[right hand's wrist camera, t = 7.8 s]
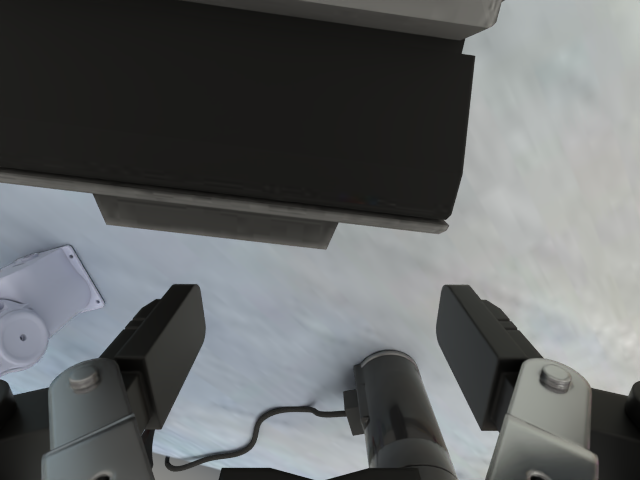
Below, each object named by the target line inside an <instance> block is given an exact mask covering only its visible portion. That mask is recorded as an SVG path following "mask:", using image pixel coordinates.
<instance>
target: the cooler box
mask: <svg viewBox="0 0 640 480" xmlns="http://www.w3.org/2000/svg"><path fill="white" fill-rule="evenodd" d="M503 1H504V0H0V183H9V184H17V185H26V186H34V187H43V188H52V189H60V190H69V191H77V192H86V193H93V195H94V198H95V200H96V202H97V204H98V207H99V209H100V211H101V213H102V216H103V218H104V220H105V222H106V225H114V226H123V227H132V228H141V229H150V230H158V231H167V232H176V233H185V234H194V235H202V236H211V237H220V238H229V239H237V240H246V241H255V242H264V243H273V244H281V245H290V246H299V247H308V248H317V249H325V250H326V249H327V247H328V245H329V242H330V240H331V238H332V236H333V234H334V231H335V229H336V227H337V225H338V223H339V222H341V223H349V224H358V225H366V226H375V227H383V228H392V229H400V230H409V231H417V232H426V233H434V234H440V233H442V232H444V231H446V230H447V228H448V227H449V225H448V224H447V223H446V222H445V221H444V220H446V219H447V218H448V217H449V216H451V214H452V210H453V207H454V203H455V199H456V196H457V192H458V189H459V185H460V181H461V178H462V174H463V165H464V155H465V146H466V137H467V127H468V118H469V109H470V99H471V90H472V81H473V71H474V62H475V56H472V55H465V54H462V50H463V45H464V41H465V38H467V37H469V36H472V35H474V34H476V33H478V32H481V31H483V30H485V29H487V28H490V27H492V26H493V25H494V24H495V23H496V21H497V17H498V13H499V10H500V6H501V2H503Z"/></svg>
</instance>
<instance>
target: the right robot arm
mask: <svg viewBox="0 0 640 480" xmlns="http://www.w3.org/2000/svg"><path fill="white" fill-rule="evenodd" d="M205 331H206V326H205V318H204V311H203V304H202V297H201V291H200V287H199V286H198V285H197V284H174V285H172V286H171V287H170V289H169V290H168V291H167V292H166V294H165V295H164V296H163V297H162V298H161V299H156V300H154V301H152V302H151V303H149V304H148V305H146V306H144V307H143V308H142V309H141V310H140V311H139V312H138V313H137V314H136V315H135V317H134V318H133V321H130V322H129V324H128V325H127V326H126V327H125V330H122V332H121V333H120V334H119V335H118V336H117V337H116V338H115V340H114V341H113V342H112V343H111V344H110V345H109V347H108V348H107V349H106V350H105V351H104V352H103V353H102V355H101V356H100V357H99V358H96V359H91V360H87V361H84V362H81V363H78V364H76V365H74V366H72V367H70V368H68V369H67V370H65V371H64V372H62V373H61V374H60V375H59V376H57V377H56V378H55V379H54V381H53V382H52V383H51V385H50V387H49V388H44V389H40V390H35V391H31V392H26V393H21V394H17V395H13V394H12V391H11V389H10V387H9V385H8V383H7V382H6V381H4V380H0V480H155V479H154V475H153V472H152V469H151V466H150V463H149V459H148V456H147V453H146V450H145V446H144V443H143V440H142V437H141V435H142V433H143V431H144V429H162V427H163V425H164V423H165V421H166V419H167V416H168V414H169V412H170V410H171V408H172V406H173V404H174V402H175V400H176V398H177V396H178V394H179V392H180V390H181V388H182V386H183V384H184V381H185V379H186V377H187V375H188V373H189V371H190V369H191V367H192V365H193V363H194V361H195V359H196V357H197V355H198V353H199V351H200V349H201V347H202V344H203V342H204V338H205ZM436 334H437V340H438V343H439V346H440V348H441V350H442V352H443V354H444V356H445V358H446V360H447V362H448V364H449V366H450V368H451V370H452V372H453V374H454V376H455V378H456V380H457V382H458V384H459V386H460V388H461V390H462V392H463V394H464V396H465V398H466V400H467V403H468V405H469V407H470V409H471V411H472V413H473V415H474V417H475V419H476V421H477V423H478V425H479V427H480V429H481V431H499V433H500V434H499V437H498V440H497V443H496V446H495V450H494V453H493V456H492V459H491V462H490V466H489V469H488V472H487V475H486V479H485V480H640V381H638V382H636V383H635V384H634V385H633V387H632V389H631V391H630V393H629V396H625V395H621V394H616V393H612V392H607V391H603V390H598V389H594V388H591V387H590V385H589V383H588V382H587V381H586V379H585V378H584V377H583V376H581V375H580V374H579V373H578V372H576V371H575V370H573V369H572V368H570V367H568V366H566V365H564V364H562V363H559V362H556V361H553V360H549V359H544V358H543V357H542V356H541V355H540V354H539V352H538V351H537V350H536V349H535V348H534V347H533V346H532V344H531V343H530V342H529V341H528V340H527V339H526V338H525V336H524V335H523V334H522V333H521V332H520V331H519V330H517V327H516V326H515V325H514V324H513V323H512V322H511V321H510V319H509V318H508V317H507V316H506V315H505V314H504V312H503V311H502V310H501V309H500V308H498V307H497V306H495V305H494V304H492V303H490V302H489V301H487V300H481V299H480V298H479V296H478V295H477V294H476V293H475V292H474V290H473V289H472V288H471V287H470V286H469V285H444V286H443V288H442V291H441V297H440V303H439V310H438V317H437V324H436ZM354 374H355V382H356V389H354V390H349V391H344V392H343V395H344V407H345V411H332V412H323V411H318V410H317V409H315V408H313V407H283V408H278V409H274V410H271V411H269V412H267V413H265V414H264V415H262V416H261V417H260V418H259V419H258V421H257V423H256V425H255V428H254V433H253V438H252V441H251V443H250V444H249V445H248V446H247V447H245V448H244V449H242V450H239V451H236V452H232V453H225V454H218V455H212V456H208V457H204V458H201V459H199V460H196V461H194V462H191V463H188V464H185V465H182V466H173V465H171V464H170V462H169V459H170V456H166V457H165V466H166V467H167V469H169V470H170V471H182V470H186V469H189V468H192V467H194V466H197V465H199V464H202V463H205V462H208V461H212V460H218V459H226V458H232V457H237V456H240V455H243V454H245V453H247V452H248V451H249V450H251V449H252V448H253V446H254V445H255V443H256V441H257V437H258V432H259V428H260V425H261V423H262V422H263V421H264V420H265V419H267V418H268V417H270V416H273V415H276V414H279V413H285V412H311V413H313V414H315V415H316V416H319V417H346V416H347V418H348V422H349V425H350V428H351V431H352V434H353V436H354V435H359V434H365V441H366V448H367V456H368V463H369V468H368V469H364V470H360V471H357V472H353V473H349V474H346V475H342V476H338V477H335V478H331V479H327V480H458V478H457V475H456V472H455V470H454V467H453V464H452V461H451V459H450V456H449V453H448V450H447V448H446V445H445V442H444V440H443V437H442V434H441V431H440V429H439V426H438V423H437V420H436V418H435V415H434V412H433V410H432V407H431V404H430V401H429V399H428V396H427V393H426V390H425V388H424V385H423V382H422V379H421V376H420V373H419V370H418V367H417V365H416V363H415V361H414V360H413V359H412V358H411V357H409V356H408V355H406V354H404V353H402V352H398V351H381V352H377V353H375V354H372V355H371V356H369V357H367V358H366V359H365V360H364V361H363V362H362V363H361V364H359V365H355V366H354ZM219 480H313V479H309V478H305V477H302V476H298V475H294V474H291V473H287V472H283V471H280V470H276V469H272V468H222V469H221V473H220V477H219Z"/></svg>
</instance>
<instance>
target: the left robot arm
mask: <svg viewBox="0 0 640 480" xmlns="http://www.w3.org/2000/svg"><path fill="white" fill-rule="evenodd" d="M71 255H72V256H73V257H72V256H71ZM98 300H99V301H100V302H99V301H98ZM104 305H105V303H104V301H103V299H102V297H101V296H100V294H99V292H98V291H97V289H96V287H95V286H94V284H93V282H92V281H91V279H90V277H89V275H88V274H87V272H86V270H85V269H84V267H83V265H82V264H81V262H80V260H79V258H78V257H77V255H76V253H75V252H74V250H73V248H72V247H71V246H69V245H66V246H63V247H59V248H55V249H52V250H48V251H45V252H41V253H34V254H31V255H28V256H26V257H23V258H19V259H17V260H16V261H15V262H13V263H12V264H10V265H8V266H6V267H4V268H2V269H0V377H1V376H3V375H5V374H7V373H10V372H16V371H22V370H25V369H28V368H30V367H32V366H33V365H35V364H36V363H37V362H38V361H39V360H40V359H41V358H42V357H43V355H44V353H45V351H46V349H47V346H48V339H49V338H51V337H52V336H53V335H54V334H55V333H56V332H58V331H59V330H60V329H61V328H62V327H63V326H64V325H66V324H67V323H68V322H69V321H70V320H71V319H72V318H74V317H75V316H76V315H77V314H79V313H83V312H87V311H91V310H95V309H98V308H102V307H104ZM154 432H155V429H145V431H144V432H143V434H142V436H141V437H142V440H143V443H144V446H145V450H146V453H147V456H148V459H149V463H150V466H151V469H152V467H153V460H152V443H153V436H154Z"/></svg>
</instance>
